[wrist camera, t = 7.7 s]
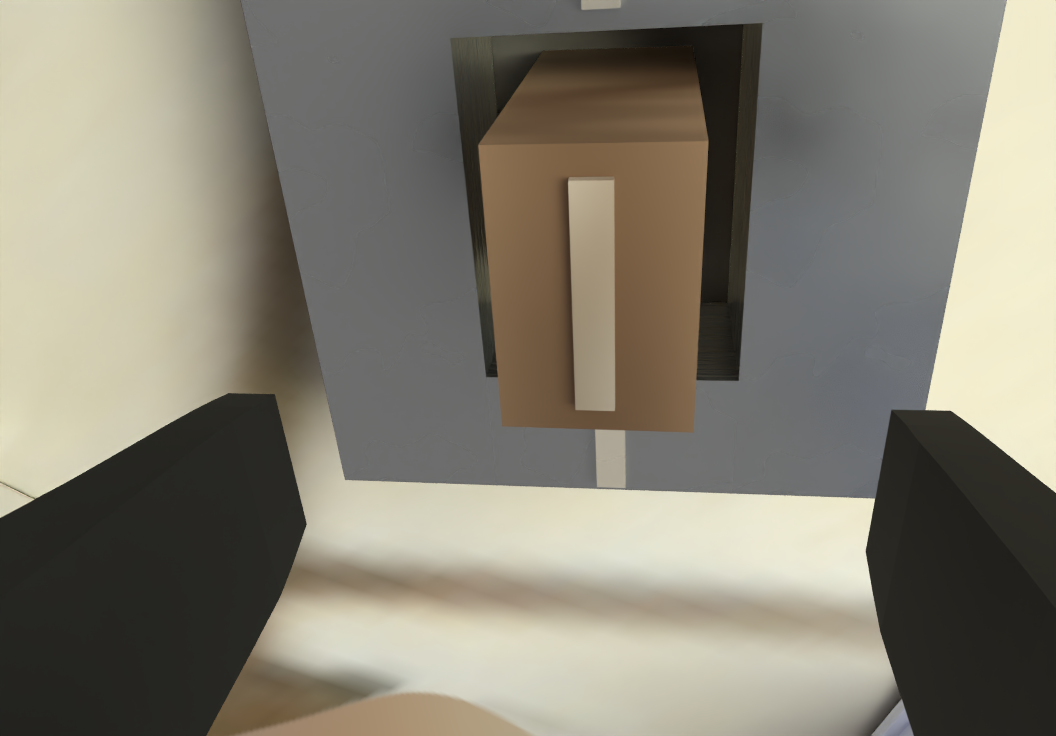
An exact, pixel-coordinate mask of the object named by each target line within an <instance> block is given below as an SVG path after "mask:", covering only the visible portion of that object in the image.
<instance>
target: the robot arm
mask: <svg viewBox="0 0 1056 736" xmlns="http://www.w3.org/2000/svg"><path fill="white" fill-rule="evenodd" d="M306 525H307V523H306V519H305V515H304V511H303V507H302V503H301V499H300V495H299V491H298V487H297V483H296V479H295V475H294V471H293V466H292V462H291V458H290V454H289V450H288V446H287V442H286V438H285V434H284V430H283V426H282V422H281V418H280V414H279V410H278V406H277V401H276V397H275V394H236V393H228V394H226V395H224V396H222V397H219V398H217V399H215V400H213V401H211V402H209V403H207V404H205V405H203V406H201V407H199V408H197V409H195V410H193V411H191V412H189V413H188V414H186V415H184V416H182V417H180V418H179V419H177V420H175V421H173V422H171V423H170V424H168V425H166V426H164V427H163V428H161V429H159V430H157V431H156V432H154V433H152V434H150V435H149V436H147V437H145V438H143V439H142V440H140V441H138V442H136V443H135V444H133V445H131V446H130V447H128V448H126V449H124V450H123V451H121V452H119V453H117V454H116V455H114V456H112V457H110V458H109V459H107V460H105V461H103V462H102V463H100V464H98V465H96V466H95V467H93V468H91V469H89V470H88V471H86V472H84V473H82V474H81V475H79V476H77V477H75V478H74V479H72V480H70V481H68V482H66V483H64V484H63V485H61V486H59V487H57V488H55V489H53V490H51V491H50V492H48V493H46V494H44V495H42V496H40V497H38V498H36V499H35V500H33V501H31V502H29V503H27V504H25V505H23V506H21V507H20V508H18V509H16V510H14V511H12V512H10V513H8V514H6V515H5V516H3V517H1V518H0V736H206V735H207V733H208V731H209V729H210V728H211V726H212V724H213V722H214V720H215V718H216V716H217V715H218V713H219V711H220V709H221V707H222V705H223V703H224V702H225V700H226V698H227V696H228V694H229V692H230V690H231V689H232V687H233V685H234V683H235V681H236V679H237V677H238V676H239V674H240V672H241V670H242V668H243V666H244V664H245V663H246V661H247V659H248V657H249V655H250V653H251V651H252V650H253V648H254V646H255V644H256V642H257V640H258V638H259V636H260V634H261V632H262V631H263V629H264V627H265V625H266V623H267V621H268V619H269V617H270V615H271V613H272V611H273V609H274V608H275V606H276V604H277V602H278V600H279V598H280V596H281V593H282V591H283V588H284V586H285V583H286V580H287V578H288V575H289V573H290V570H291V568H292V565H293V562H294V559H295V556H296V554H297V551H298V548H299V545H300V542H301V539H302V536H303V533H304V530H305V527H306ZM866 556H867V562H868V567H869V573H870V579H871V585H872V591H873V596H874V601H875V607H876V612H877V617H878V622H879V627H880V632H881V635H882V639H883V642H884V645H885V648H886V652H887V655H888V658H889V661H890V664H891V667H892V670H893V673H894V677H895V680H896V683H897V686H898V689H899V692H900V695H901V698H902V699H901V700H900V701H899V703H898V704H897V705H896V706H895V707H894V709H893V710H892V711H891V712H890V713H889V715H888V716H887V717H886V718H885V719H884V721H883V722H882V723H881V724H880V725H879V727H878V728H877V729H876V730H875V731H874V733H873V734H872V735H871V736H1056V493H1055V492H1054V491H1053V490H1051V489H1050V488H1049V487H1047V486H1046V485H1045V484H1044V483H1042V482H1041V481H1040V480H1039V479H1037V478H1036V477H1035V476H1034V475H1032V474H1031V473H1030V472H1029V471H1027V470H1026V469H1025V468H1024V467H1022V466H1021V465H1020V464H1019V463H1017V462H1016V461H1015V460H1014V459H1012V458H1011V457H1010V456H1009V455H1007V454H1006V453H1005V452H1004V451H1002V450H1001V449H1000V448H999V447H997V446H996V445H995V444H994V443H992V442H991V441H990V440H989V439H987V438H986V437H985V436H984V435H982V434H981V433H980V432H978V431H977V430H976V429H975V428H973V427H972V426H971V425H969V424H968V423H967V422H965V421H964V420H963V419H961V418H960V417H959V416H957V415H956V414H954V413H953V412H951V411H933V410H892V409H891V414H890V420H889V425H888V431H887V437H886V442H885V448H884V453H883V459H882V464H881V470H880V475H879V481H878V486H877V492H876V498H875V503H874V509H873V514H872V520H871V525H870V531H869V536H868V542H867V547H866Z"/></svg>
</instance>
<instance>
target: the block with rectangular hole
mask: <svg viewBox="0 0 1056 736" xmlns="http://www.w3.org/2000/svg"><path fill="white" fill-rule="evenodd" d="M1006 1H1007V0H241V3H242V8H243V13H244V17H245V22H246V26H247V31H248V36H249V40H250V45H251V49H252V54H253V59H254V63H255V68H256V72H257V77H258V82H259V86H260V91H261V95H262V100H263V105H264V109H265V114H266V118H267V123H268V128H269V132H270V137H271V141H272V146H273V151H274V155H275V160H276V164H277V169H278V174H279V178H280V183H281V187H282V192H283V197H284V201H285V206H286V210H287V215H288V220H289V224H290V229H291V233H292V238H293V243H294V247H295V252H296V256H297V261H298V266H299V270H300V275H301V279H302V284H303V288H304V293H305V298H306V302H307V307H308V311H309V316H310V321H311V325H312V330H313V334H314V339H315V344H316V348H317V353H318V357H319V362H320V367H321V371H322V376H323V380H324V385H325V390H326V394H327V399H328V403H329V408H330V413H331V417H332V422H333V426H334V431H335V436H336V440H337V445H338V449H339V454H340V459H341V463H342V468H343V472H344V477H345V480H365V481H393V482H422V483H450V484H479V485H507V486H536V487H565V488H593V489H622V490H650V491H679V492H707V493H736V494H765V495H793V496H822V497H850V498H876V492H877V486H878V481H879V475H880V470H881V464H882V459H883V453H884V448H885V442H886V437H887V431H888V425H889V420H890V414H891V409H892V410H925V408H926V403H927V398H928V393H929V388H930V383H931V378H932V373H933V368H934V363H935V358H936V353H937V348H938V343H939V338H940V333H941V328H942V323H943V318H944V313H945V308H946V303H947V298H948V293H949V288H950V283H951V278H952V273H953V268H954V263H955V258H956V253H957V248H958V243H959V238H960V233H961V228H962V223H963V217H964V212H965V207H966V202H967V197H968V192H969V187H970V182H971V177H972V172H973V167H974V162H975V157H976V152H977V147H978V142H979V137H980V132H981V127H982V122H983V117H984V112H985V107H986V102H987V97H988V92H989V87H990V82H991V77H992V72H993V67H994V62H995V57H996V52H997V47H998V42H999V37H1000V32H1001V27H1002V21H1003V16H1004V11H1005V6H1006ZM731 24H743V39H742V57H741V75H740V93H739V110H738V128H737V146H736V163H735V181H734V199H733V216H732V234H731V252H730V270H729V287H728V303H700V316H699V336H698V355H697V375H696V394H695V414H694V433H688V432H658V431H627V430H596V429H566V428H535V427H504V426H502V420H501V408H500V396H499V384H498V372H497V361H496V349H495V337H494V325H493V314H492V302H491V290H490V278H489V266H488V255H487V243H486V231H485V219H484V207H483V196H482V184H481V172H480V160H479V148H478V145H479V143H480V142H481V140H482V139H483V137H484V136H485V135H486V133H487V132H488V130H489V129H490V127H491V126H492V124H493V123H494V121H495V120H496V119H497V106H496V94H495V82H494V70H493V58H492V46H491V36H505V35H526V34H546V33H567V32H587V31H608V30H628V29H649V28H669V27H690V26H711V25H731Z"/></svg>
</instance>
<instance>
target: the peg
mask: <svg viewBox="0 0 1056 736" xmlns="http://www.w3.org/2000/svg"><path fill="white" fill-rule="evenodd" d="M478 148H479V160H480V172H481V184H482V196H483V207H484V219H485V231H486V243H487V255H488V266H489V278H490V290H491V302H492V314H493V325H494V337H495V349H496V361H497V372H498V384H499V396H500V408H501V420H502V426H504V427H535V428H566V429H596V430H627V431H658V432H688V433H694V414H695V394H696V375H697V355H698V336H699V316H700V297H701V277H702V258H703V238H704V219H705V199H706V180H707V161H708V135H707V129H706V123H705V117H704V110H703V104H702V98H701V92H700V86H699V80H698V74H697V67H696V61H695V55H694V49H693V46H666V47H637V48H607V49H578V50H548V51H543V52H542V53H541V55H540V56H539V57H538V59H537V60H536V62H535V63H534V65H533V66H532V68H531V69H530V71H529V72H528V73H527V75H526V76H525V78H524V79H523V81H522V82H521V84H520V85H519V87H518V88H517V89H516V91H515V92H514V94H513V95H512V97H511V98H510V100H509V101H508V103H507V104H506V105H505V107H504V108H503V110H502V111H501V113H500V114H499V116H498V117H497V119H496V120H495V121H494V123H493V124H492V126H491V127H490V129H489V130H488V132H487V133H486V135H485V136H484V137H483V139H482V140H481V142H480V143H479V145H478Z"/></svg>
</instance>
